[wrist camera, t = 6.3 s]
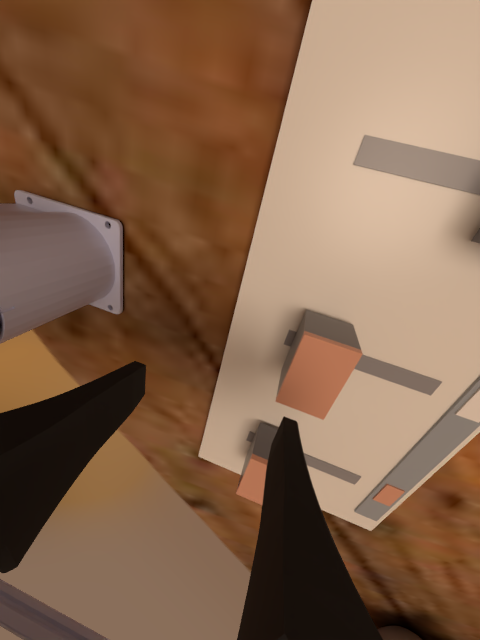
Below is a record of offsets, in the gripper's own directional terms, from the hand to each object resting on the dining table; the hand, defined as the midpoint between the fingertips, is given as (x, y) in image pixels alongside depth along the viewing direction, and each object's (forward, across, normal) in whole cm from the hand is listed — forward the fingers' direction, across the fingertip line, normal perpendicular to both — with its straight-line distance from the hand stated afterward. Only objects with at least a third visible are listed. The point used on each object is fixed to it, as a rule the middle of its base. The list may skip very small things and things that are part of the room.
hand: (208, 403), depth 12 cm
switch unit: (+8, -8, -1) cm, 12 cm away
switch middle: (+7, -5, -1) cm, 8 cm away
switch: (+7, -5, +10) cm, 13 cm away
